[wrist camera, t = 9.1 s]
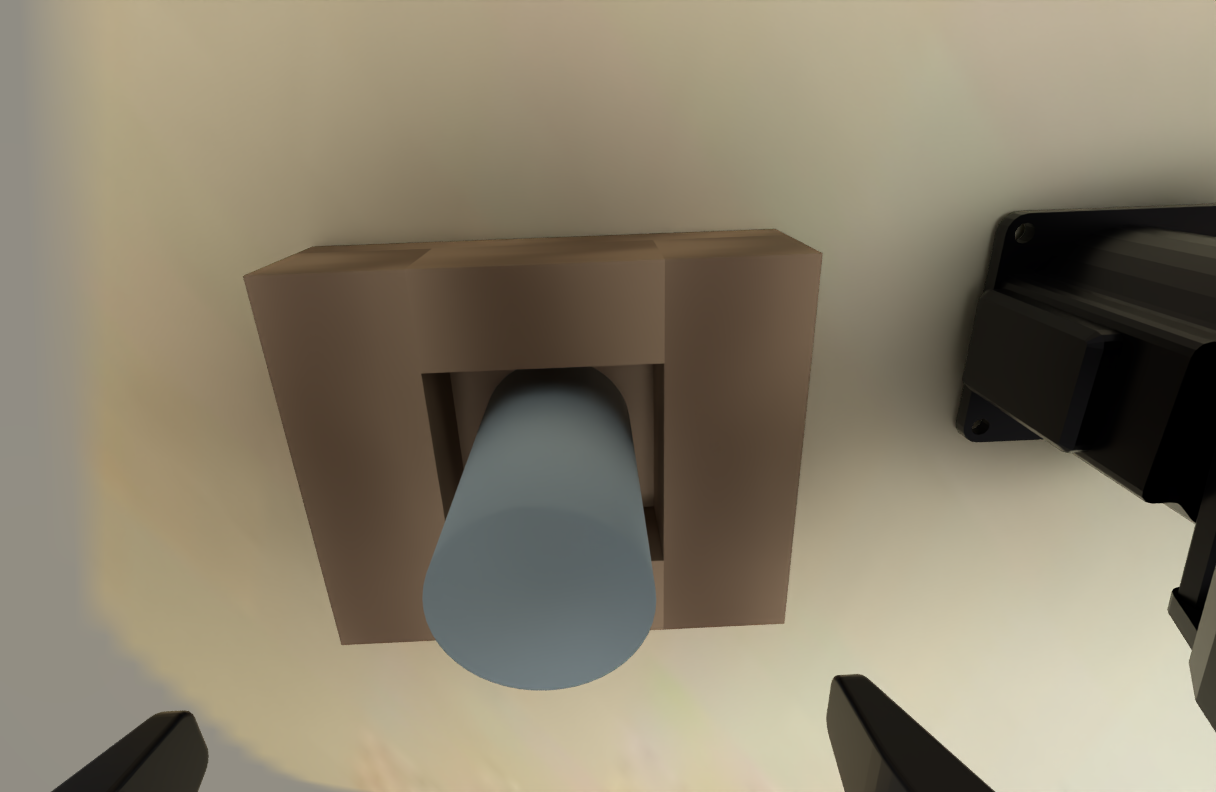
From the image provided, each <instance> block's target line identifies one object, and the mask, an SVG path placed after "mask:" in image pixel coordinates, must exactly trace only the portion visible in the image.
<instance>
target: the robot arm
mask: <svg viewBox="0 0 1216 792" xmlns="http://www.w3.org/2000/svg"><path fill="white" fill-rule="evenodd" d="M1022 224H1024V225H1025V231H1024V233H1023V235H1022V236H1021V237H1020V238H1019V239H1018V240H1016V239H1015V232H1016V230H1017V228H1018V227H1020V226H1021V225H1022ZM962 380H963V382H964V387H963V391H962V396H961V401H960V406H959V410H958V415H957V420H956V428H957V430H958V432H959V433H960V434H962V435H963V436H964V437H965V438H967V439H968V440H970V441H972V442H993V441H1016V440H1039V439H1044V440H1046V441H1047V442H1049V443H1050V444H1052V445H1053V446H1055V447H1056V448H1058V449H1059V450H1061V451H1063V452H1066V453H1073V454H1074V455H1076V456H1077V457H1079V458H1080V459H1082V460H1083V461H1085V462H1086V463H1088V464H1089V465H1091V466H1092V467H1094V468H1095V469H1097V470H1098V471H1100V472H1101V473H1103V474H1104V475H1106V476H1107V477H1109V478H1110V479H1112V480H1113V481H1115V482H1116V483H1118V484H1119V485H1121V486H1122V487H1124V488H1125V489H1127V490H1128V491H1130V492H1131V493H1133V494H1134V495H1136V496H1137V497H1139V498H1140V499H1142V500H1143V501H1145V502H1147V503H1152V504H1154V503H1163V504H1165V505H1166V506H1168V507H1169V508H1171V509H1173V510H1174V511H1176V512H1177V513H1179V514H1180V515H1182V516H1183V517H1185V518H1186V519H1188V520H1190V521H1191V522H1193V523H1194V524H1195V528H1194V532H1193V536H1192V540H1191V544H1190V548H1189V552H1188V556H1187V560H1186V563H1185V567H1184V571H1183V575H1182V579H1181V583H1180V587H1177V588H1174V589H1173V591H1172V593H1171V597H1170V601H1169V605H1168V609H1167V610H1168V613H1169V615H1170V616H1171V618H1172V619H1173V621H1174V623H1175V624H1176V626H1177V627H1178V629H1179V630H1180V632H1181V634H1182V635H1183V637H1184V638H1185V640H1186V642H1187V643H1188V645H1189V646H1190V648H1191V649H1192V652H1191V656H1190V659H1189V666H1190V672H1191V678H1192V683H1193V689H1194V694H1195V700H1196V702H1197V704H1198V705H1199V707H1200V708H1201V710H1202V712H1203V713H1204V715H1205V716H1206V718H1207V719H1208V721H1209V722H1210V724H1211V726H1212V727H1213V729H1214V730H1215V732H1216V204H1192V205H1166V206H1139V207H1113V208H1087V209H1060V210H1034V211H1018V212H1013V213H1011V214H1009V215H1008V216H1006V217H1005V218H1004V219H1003V220H1002V221H1001V222H1000V224H999V226H998V228H997V231H996V235H995V239H994V244H993V249H992V254H991V258H990V263H989V268H988V273H987V277H986V282H985V287H984V292H983V294H982V296H981V297H980V298H979V301H978V306H977V311H976V315H975V320H974V325H973V330H972V335H971V339H970V344H969V349H968V354H967V359H966V363H965V368H964V373H963V378H962ZM980 419H981V423H980V424H979V425H978V426H977V427H976V428H972V426H973V424H974V423H975V422H976V421H977V420H980ZM826 721H827V729H828V734H829V738H830V741H831V745H832V748H833V752H834V755H835V759H836V762H837V766H838V769H839V773H840V777H841V780H842V784H843V787H844V791H845V792H995V791H994V790H993V789H991V788H990V787H989V786H988V785H987V784H986V783H985V782H984V781H982V780H981V779H980V778H979V777H978V776H977V775H976V774H975V773H973V772H972V771H971V770H970V769H969V768H968V767H967V766H966V765H965V764H963V763H962V762H961V761H960V760H959V759H958V758H957V757H956V756H954V755H953V754H952V753H951V752H950V751H949V750H948V749H947V748H945V747H944V746H943V745H942V744H941V743H940V742H939V741H938V740H936V739H935V738H934V737H933V736H932V735H931V734H930V733H929V732H928V731H926V730H925V729H924V728H923V727H922V726H921V725H920V724H919V723H917V722H916V721H915V720H914V719H913V718H912V717H911V716H910V715H908V714H907V713H906V712H905V711H904V710H903V709H902V708H901V707H899V706H898V705H897V704H896V703H895V702H894V701H893V700H892V699H890V698H889V697H888V696H887V695H886V694H885V693H884V692H883V691H882V690H880V689H879V688H878V687H877V686H876V685H875V684H874V683H873V682H871V681H870V680H869V679H868V678H867V677H865V676H863V675H860V674H850V675H837V676H835V677H834V678H833V680H832V683H831V689H830V695H829V702H828V709H827V717H826ZM207 764H208V748H207V746H206V744H205V741H204V738H203V736H202V734H201V731H200V729H199V726H198V724H197V722H196V719H195V717H194V715H193V714H192V713H190V712H189V711H167V712H160V713H157V714H155V715H153V716H152V717H150V718H149V719H147V720H146V721H145V722H143V723H142V724H141V725H139V726H138V727H137V728H135V729H134V730H133V731H131V732H130V733H129V734H127V735H126V736H125V737H123V738H122V739H121V740H119V741H118V742H117V743H115V744H114V745H113V746H111V747H110V748H109V749H107V750H106V751H105V752H103V753H102V754H101V755H99V756H98V757H97V758H95V759H94V760H93V761H91V762H90V763H89V764H87V765H86V766H85V767H83V768H82V769H81V770H79V771H78V772H77V773H75V774H74V775H73V776H71V777H70V778H69V779H67V780H66V781H65V782H63V783H62V784H61V785H60V786H58V787H57V788H55V789H54V790H53V791H52V792H198V790H199V787H200V785H201V782H202V779H203V777H204V774H205V772H206V768H207Z"/></svg>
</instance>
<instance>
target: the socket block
mask: <svg viewBox="0 0 1216 792" xmlns="http://www.w3.org/2000/svg"><path fill="white" fill-rule="evenodd" d="M822 254H823V253H821V252H819V251H817V250H815V249H813V248H811V247H809V246H807V245H805V244H803V243H802V242H800V241H798V240H796V239H794V238H792V237H790V236H788V235H786V234H784V233H782V232H780V231H778V230H776V229H763V230H737V231H711V232H685V233H658V234H632V235H606V236H580V237H553V238H527V239H501V240H475V241H448V242H422V243H396V244H370V245H343V246H317V247H311V248H308V249H306V250H303V251H301V252H299V253H296V254H294V255H291V256H289V257H287V258H284V259H282V260H280V261H277V262H275V263H272V264H270V265H268V266H265V267H263V268H261V269H258V270H256V271H253V272H251V273H249V274H246V275H244V276H243V278H244V281H245V285H246V289H247V293H248V296H249V300H250V304H251V308H252V311H253V315H254V319H255V323H256V326H257V330H258V334H259V338H260V341H261V345H262V349H263V353H264V356H265V360H266V364H267V368H268V371H269V375H270V379H271V383H272V386H273V390H274V394H275V398H276V401H277V405H278V409H279V413H280V416H281V420H282V424H283V428H284V431H285V435H286V439H287V442H288V446H289V450H290V454H291V457H292V461H293V465H294V469H295V472H296V476H297V480H298V484H299V487H300V491H301V495H302V499H303V502H304V506H305V510H306V514H307V517H308V521H309V525H310V529H311V532H312V536H313V540H314V544H315V547H316V551H317V555H318V559H319V562H320V566H321V570H322V574H323V577H324V581H325V585H326V589H327V592H328V596H329V600H330V604H331V607H332V611H333V615H334V619H335V622H336V626H337V630H338V633H339V637H340V641H341V645H351V644H372V643H392V642H413V641H434V640H436V639H435V638H434V636H433V635H432V633H431V631H430V628H429V626H428V624H427V621H426V618H425V614H424V609H423V600H422V597H423V585H424V581H425V577H426V573H427V570H428V568H429V565H430V562H431V559H432V557H433V554H434V551H435V548H436V545H437V543H438V540H439V537H440V534H441V532H442V529H443V526H444V523H445V521H446V518H447V515H448V512H449V510H450V507H451V504H452V501H453V499H454V496H455V493H456V490H457V487H458V485H459V482H460V479H461V476H462V474H463V471H464V468H465V465H466V463H467V460H468V457H469V454H470V452H471V449H472V446H473V443H474V440H475V438H476V435H477V432H478V429H479V427H480V424H481V421H482V418H483V416H484V413H485V410H486V407H487V405H488V402H489V400H490V397H491V395H492V394H493V392H494V390H495V389H496V387H497V386H498V385H499V384H500V382H501V381H502V380H503V379H504V378H505V377H506V376H508V375H509V374H510V373H512V372H513V371H514V370H517V369H541V368H565V367H589V366H591V367H593V368H595V369H596V370H598V371H600V372H601V373H602V374H604V375H605V376H606V377H608V378H609V379H610V380H611V381H612V382H613V383H614V384H615V386H616V387H617V388H618V390H619V391H620V393H621V394H622V396H623V398H624V400H625V403H626V405H627V408H628V412H629V417H630V424H631V430H632V437H633V444H634V450H635V457H636V463H637V470H638V477H639V483H640V490H641V496H642V503H643V510H644V516H645V523H646V529H647V536H648V543H649V549H650V556H651V562H652V569H653V576H654V582H655V590H656V610H655V615H654V619H653V623H652V626H651V628H650V630H661V629H682V628H703V627H723V626H744V625H765V624H784V621H785V611H786V601H787V592H788V582H789V572H790V563H791V553H792V543H793V534H794V524H795V514H796V505H797V495H798V486H799V476H800V466H801V457H802V447H803V437H804V428H805V418H806V408H807V399H808V389H809V379H810V370H811V360H812V350H813V341H814V331H815V321H816V312H817V302H818V293H819V283H820V273H821V264H822Z"/></svg>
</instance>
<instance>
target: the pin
mask: <svg viewBox="0 0 1216 792" xmlns="http://www.w3.org/2000/svg"><path fill="white" fill-rule="evenodd" d="M422 600H423V609H424V614H425V618H426V621H427V624H428V626H429V628H430V631H431V633H432V635H433V636H434V638H435V639H436V641H437V642H438V644H439V645H440V646H441V648H442V649H443V650H444V651H445V652H446V653H447V654H448V655H449V656H450V657H451V658H452V659H453V660H454V661H455V662H457V663H458V664H459V665H461V666H462V667H464V668H465V669H466V670H468V671H470V672H472V673H473V674H475V675H477V676H479V677H481V678H483V679H486V680H488V681H491V682H493V683H497V684H500V685H503V686H507V687H512V688H518V689H525V690H557V689H565V688H570V687H575V686H579V685H582V684H585V683H588V682H591V681H593V680H596V679H598V678H601V677H603V676H605V675H606V674H608V673H610V672H612V671H613V670H615V669H616V668H618V667H619V666H620V665H622V664H623V663H625V662H626V661H627V660H628V659H629V658H630V657H631V656H632V655H633V654H634V653H635V652H636V651H637V649H638V648H639V647H640V646H641V645H642V643H643V641H644V640H645V638H646V636H647V635H648V633H649V630H650V628H651V626H652V623H653V619H654V615H655V610H656V590H655V582H654V576H653V569H652V562H651V556H650V549H649V543H648V536H647V529H646V523H645V516H644V510H643V503H642V496H641V490H640V483H639V477H638V470H637V463H636V457H635V450H634V444H633V437H632V430H631V424H630V417H629V412H628V408H627V405H626V403H625V400H624V398H623V396H622V394H621V393H620V391H619V390H618V388H617V387H616V386H615V384H614V383H613V382H612V381H611V380H610V379H609V378H608V377H606V376H605V375H604V374H602V373H601V372H600V371H598V370H596V369H595V368H593V367H591V366H589V367H565V368H541V369H517V370H514V371H513V372H512V373H510V374H509V375H508V376H506V377H505V378H504V379H503V380H502V381H501V382H500V384H499V385H498V386H497V387H496V389H495V390H494V392H493V394H492V395H491V397H490V400H489V402H488V405H487V407H486V410H485V413H484V416H483V418H482V421H481V424H480V427H479V429H478V432H477V435H476V438H475V440H474V443H473V446H472V449H471V452H470V454H469V457H468V460H467V463H466V465H465V468H464V471H463V474H462V476H461V479H460V482H459V485H458V487H457V490H456V493H455V496H454V499H453V501H452V504H451V507H450V510H449V512H448V515H447V518H446V521H445V523H444V526H443V529H442V532H441V534H440V537H439V540H438V543H437V545H436V548H435V551H434V554H433V557H432V559H431V562H430V565H429V568H428V570H427V573H426V577H425V581H424V585H423V597H422Z"/></svg>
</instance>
